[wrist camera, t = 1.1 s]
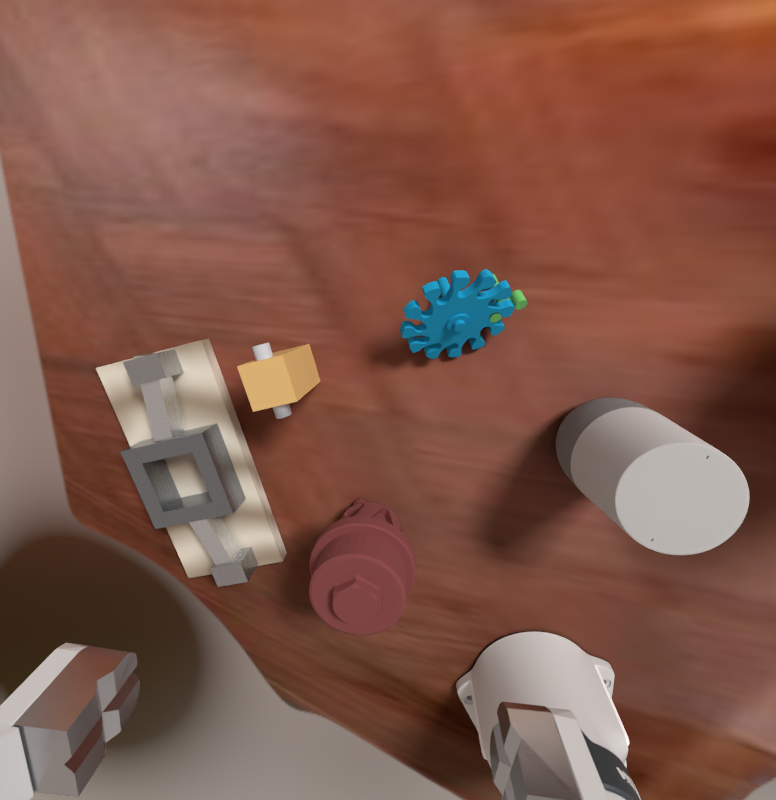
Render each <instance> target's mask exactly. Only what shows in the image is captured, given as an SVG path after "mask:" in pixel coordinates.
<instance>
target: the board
mask: <svg viewBox="0 0 776 800" xmlns="http://www.w3.org/2000/svg"><path fill="white" fill-rule="evenodd" d="M174 349H175V350H176V353H177V356H178V358H179V361H180V363H181V366H182V369H183V371H184V372H183V373H180V374H177V375H174V376H172V377H173V382H174V386H175V391H176V395H177V400H178V404H179V409H180V413H181V418H182V422H183V427H184V431H185V430H190V429H194V428H198V427H203V426H207V425H211V424H215V423H217V424H218V426H219V429H220V432H221V434H222V437H223V440H224V442H225V445H226V447H227V450H228V453H229V455H230V458H231V461H232V463H233V466H234V469H235V471H236V474H237V477H238V479H239V482H240V485H241V487H242V490H243V492H244V495H245V498H246V499H245V500H244V502H243V503H242V504H241V505H240V506H239V508H238V509H237V510H236V511H235V512H234V513H233V514H229V515H224V516H221V518H222V520H223V521H224V523H225V525H226V526H227V528H228V530H229V531H230V533H231V534H232V536H233V538H234V539H235V541H236V543H237V544H238V546H239V548H240V549H242V548H247V547H252V549H253V552H254V555H255V557H256V560H257V562H258V566H260V565H266V564H272V563H277V562H283V560H284V558H285V556H286V554H287V552H286V550H285V547H284V544H283V541H282V539H281V536H280V533H279V530H278V528H277V525H276V522H275V519H274V517H273V514H272V511H271V508H270V505H269V503H268V500H267V497H266V494H265V492H264V489H263V486H262V483H261V481H260V478H259V475H258V472H257V470H256V467H255V464H254V461H253V459H252V456H251V453H250V450H249V448H248V445H247V442H246V439H245V437H244V434H243V431H242V428H241V426H240V423H239V420H238V417H237V415H236V412H235V409H234V406H233V404H232V401H231V398H230V395H229V393H228V390H227V387H226V384H225V382H224V379H223V376H222V373H221V371H220V368H219V365H218V362H217V360H216V357H215V354H214V351H213V348H212V346H211V343H210V340H209V339H204V340H200V341H196V342H192V343H188V344H185V345H181V346H177V347H173V348H170V349H166V350H162V351H158V352H155V353H159V352H164V351H169V350H174ZM132 359H134V358H132ZM132 359H128V360H125V361H129V360H132ZM125 361H121V362H117V363H113V364H110V365H106V366H102V367H98V368H96V370H97V372H98V375H99V377H100V379H101V381H102V384H103V386H104V388H105V390H106V393H107V395H108V397H109V399H110V402H111V404H112V406H113V409H114V411H115V413H116V415H117V418H118V420H119V422H120V424H121V427H122V429H123V431H124V433H125V436H126V438H127V440H128V442H129V445H130V446H132V445H134V444H136V443H138V442H140V441H143V440H147V439H151V438H153V434H152V430H151V426H150V422H149V418H148V413H147V409H146V405H145V401H144V397H143V393H142V389H141V385H136V386H133V385H132V383H131V381H130V378H129V376H128V374H127V371H126V369H125V367H124V364H123V362H125ZM165 462H166V464H167V466H168V469H169V471H170V473H171V476H172V478H173V481H174V483H175V485H176V488H177V490H178V492H179V495H180V497H186V496H191V495H196V494H200V493H205V492H208V490H207V488H206V485H205V483H204V480H203V478H202V475H201V473H200V470H199V468H198V465H197V463H196V460H195V458H194V455H193V453H192V452H191V453H187V454H183V455H178V456H174V457H169V458H165ZM166 528H167V531H168V533H169V535H170V537H171V540H172V542H173V544H174V546H175V549H176V551H177V553H178V555H179V558H180V560H181V562H182V565H183V567H184V569H185V571H186V574H187V576H188V578H193V577H198V576H204V575H210V574H212V572H211V570H210V568H211V567H212V565H213V564H214V561H213V560H212V558H211V557H210V555H209V554H208V552H207V550H206V549H205V547H204V546H203V544H202V542H201V541H200V539H199V538H198V536H197V534H196V533H195V531H194V530H193V528H192V527H191V525H190V523H184V524H179V525H174V526H169V527H166Z"/></svg>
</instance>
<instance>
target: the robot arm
mask: <svg viewBox="0 0 776 800" xmlns="http://www.w3.org/2000/svg"><path fill="white" fill-rule="evenodd" d="M137 665H138V663H137V657H136V653H131V652H125V651H117V650H111V649H105V648H98V647H92V646H87V645H79V644H72V643H65V644H63V645H62V646H60V647H59V648H57V649H55V650H54V651H53V652H52V653H51V655H50V656H49V657H48V658H47V659H46V660H45V661H44V662H43V663H42V664H41V665H40V666H39V667H38V668H37V669H36V670H35V671H34V672H33V673H32V674H31V675H30V676H29V677H28V678H27V679H26V680H25V681H24V682H23V683H22V684H21V685H20V686H19V687H18V688H17V689H16V690H15V691H14V692H13V693H12V695H10V697H8V699H7V700H6V701H5V702H4V703H3V704H2V705H1V706H0V800H30V799H31V798H32V797H33V796H34V792H37V793H46V794H57V795H66V796H77V797H79V796H80V794H81V793H82V791H83V789H84V788H85V786H86V785H87V783H88V782H89V780H90V779H91V777H92V776H93V774H94V772H95V771H96V769H97V768H98V766H99V765H100V763H101V762H102V760H103V759H104V757H105V748H106V742H107V741H109V740H110V739H111V738H113V737H114V736H115V735H117V734H118V733H119V732H121V731H122V729H123V727H124V726H125V724H126V723H127V721H128V719H129V718H130V716H131V714H132V712H133V709H134V707H135V705H136V702H137V700H138V695H139V690H140V683H139V679H138V677H137V676H136V675H135V674H134V673H133V670H134V669H135V667H136V666H137ZM613 684H614V672H613V670H612V667H611V665H610V664H609V663H608V662H606V661H604V660H602V659H599V658H596V657H593V656H590V655H588V654H587V653H585V652H584V651H583V650H582V649H580V648H579V647H578V646H577V645H576V644H574V643H573V642H571V641H569V640H568V639H566V638H563V637H561V636H558V635H555V634H551V633H546V632H522V633H516V634H513V635H509V636H506V637H504V638H502V639H500V640H498V641H496V642H494V643H493V644H491V645H490V646H489V647H488V648H486V649H485V650H484V651H483V653H482V654H481V655H480V656H479V658H478V660H477V661H476V663H475V665H474V667H473V668H472V670H471V671H470V672H468V673H467V674H465V675H464V676H463V677H461V678H460V679H459V680H458V681H457V683H456V689H457V693H458V696H459V698H460V700H461V701H462V703H463V705H464V707H465V709H466V711H467V712H468V714H469V716H470V718H471V720H472V722H473V724H474V725H475V727H476V729H477V731H478V734H479V740H480V746H481V751H482V755H483V758H484V759H486V760H487V761H488V763H489V766H490V768H491V769H492V775H493V781H494V783H495V785H496V786H497V788H498V789H499V791H500V792H501V794H502V795H503V797H502V800H640V799H641V798H640V796H639V793H638V791H637V789H636V787H635V785H634V783H633V781H632V780H631V778H630V776H629V773H628V771H627V769H626V767H627V764H626V757H627V752H628V745H629V739H628V736H627V733H626V731H625V729H624V726H623V724H622V722H621V720H620V717H619V715H618V713H617V710H616V708H615V706H614V704H613V701H612V692H613Z"/></svg>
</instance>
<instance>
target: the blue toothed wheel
mask: <svg viewBox="0 0 776 800" xmlns="http://www.w3.org/2000/svg"><path fill="white" fill-rule="evenodd" d="M450 278H451V286H450V285H449V283H448V280H447V278H445V277H441V278H439V279H438V280H437V281H434V282H430V283H428V284H426V285H424V286H423V287H422V290H423V293H424V296H425V298H426V299H427V300H429V301H430V302H431V307H430V308H429V309H428V310H426V311H421V310H420V307H419V303H418V302H417V301H415V300H412V301H410V302H409V303H408V304H407V305H406V306H405V307H404V312H405V316H406V317H407V318H408V319H417V320H420V321H422V322H423V324H421V325H414V324H413V323H412V322H410V321H404V322H402V324H401V327H400V332H401V336H402V338H409V339H408V343H409V346H410V349H411V351H412V352H413V353H415V352H418V351H420V350H421V349H422V348H424V347H425V348H424V351H425V354H426V356H427V357H428V358H431V359H435V358H437V357H438V356H439V354H440V352H441V351H442V350H443V349H444V348H446V347H447V346H448V347H447V349H446V350H447V353H448V356H449V357H459V356H460V355H461V354H462V352H461V348H462V346H463V344H464V343H465V342H466V340H468V339H469V338H470V340H469V342H470V345H471V347H472V349H473V350H474V349H478V348H481V347H483V346H485V342H484V339H483V337H482V335H480V331H481V330H482V329H483V328H484V327H488V328H489V330H490V333H491V334H492V335H497V334H498V333H500V332H501V331H502V330H503V329H505V327H504V325H503V323H502V321H501V320H500V319H501V316H502V317H509V316H510V315H511V314H512V312H513V310H514V308H516V309H518V310H519V309H523V308H524V307H525V306H526V305H527V301H526V299H525V297H524V295H523V293H522V292H521V290H516V291H514V292H512V293H511V289H510V286H509V284H508V283H507V281H502V282H500V283H499V282H498V280H497V278H496V276H495V275H494V274H492V273H491V272H490V271H488V270H486V269H484V270H482V271H481V272H480V273H479V275H478V277H477V278H476V280H475V281H474V282H473V283H472V284H471V285H470V286H469V287H467V288H466V289H464V290H462V291H460V290H461V289H463V288H464V287H466V286H467V285H468V284H469V282H470V278H469V276H468V274H467V272H466V271H462V270H458V271H453V272H452V274H451V276H450ZM488 288H491V289H489V290H487V291H482V292H479V291H481V290H484V289H488ZM440 295H441V296H442V298H439V296H440ZM418 335H422V336H424V337H412V336H418ZM410 337H411V338H410Z"/></svg>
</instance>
